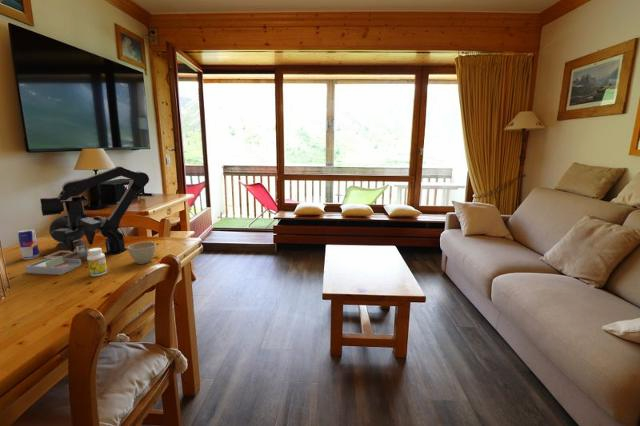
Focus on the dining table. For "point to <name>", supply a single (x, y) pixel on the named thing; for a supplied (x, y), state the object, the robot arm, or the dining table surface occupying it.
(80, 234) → the dark ball on stand
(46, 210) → the robot arm
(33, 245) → the energy drink
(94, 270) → the supplement bottle
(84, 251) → the peg
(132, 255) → the light gray bowl
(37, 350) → the dining table surface
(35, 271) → the gray box
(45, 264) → the lid
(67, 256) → the socket board
